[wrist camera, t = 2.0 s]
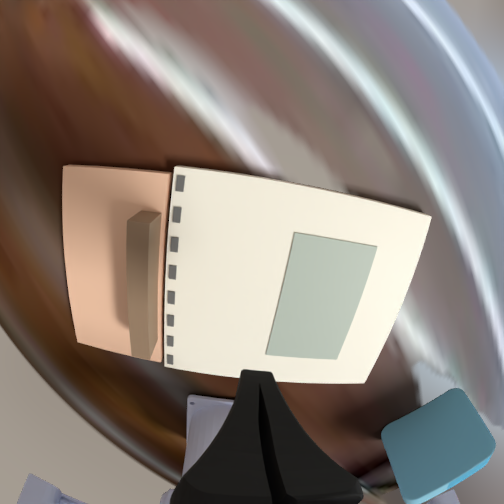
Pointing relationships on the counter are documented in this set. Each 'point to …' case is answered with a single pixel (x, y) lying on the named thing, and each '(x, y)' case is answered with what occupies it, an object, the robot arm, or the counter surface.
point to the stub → (116, 256)
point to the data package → (437, 446)
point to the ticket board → (282, 277)
